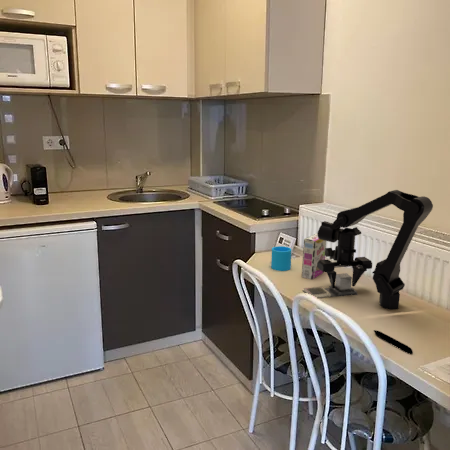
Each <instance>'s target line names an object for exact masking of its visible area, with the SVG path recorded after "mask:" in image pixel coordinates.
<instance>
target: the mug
mask: <svg viewBox="0 0 450 450" xmlns="http://www.w3.org/2000/svg"><path fill="white" fill-rule="evenodd" d="M270 262H271V263H270V264H271V267H270V268H271V269H272V270H273V271H276V272H277V271H278V272H279V271H280V272H286V271H290V270H291V267H292V248H291V247H289V246H284V245H283V246H282V245H279V246H273V247H271V261H270Z"/></svg>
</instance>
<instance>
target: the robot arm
mask: <svg viewBox="0 0 450 450" xmlns="http://www.w3.org/2000/svg"><path fill="white" fill-rule="evenodd" d="M391 205H393V206H394V207H396V208H397V209H398V210H400V211H402V212H403V215H402V216H403V219H402V220H403V222H402V224H401V226H400V229H399V230H398V233H397V236H396V237H395V240H394V242H393V243H392V246H391V248H390V250H389V252H388V254H387V257H386V258H385V259H382V260H381V261H379V262H377V263H376V265H375V268H374V270H373V271H372V274H373V276H372V280H373V282H374V284H375V288H376V292H377V293H379V302H378V303H379V306H380V307H381V308H383V309H387V310H388V311H394V310H399V307H400V297H401V294H400V291H402V290H403V289H404V287H405V285H406V283H405V282H404V281H403V280H402V278H401V277H400V273H401V262H402V261H403V258H404V256H405V255H406V252H407V251H408V248H409V246H410V244H411V242H412V240H413V238H414V235H415V234H416V231H417V230H418V228H419V226H420V225H421V224H422V223H423V222H424V221H425V220H426V218H427V217H428V216H429V215H430V213H431V212H432V211H433V208H434V204H433V202H432V200H431V199H430V198H429V197H427V196H424V195H423V196H418V195H415V194H411V193H408V192H407V193H406V192H404V191H400V190H398V189H394V190H391V191H388V192H386V193H385V194H383V195H381V196H379V197H377V198H374V199H373V200H371V201H368V202H366V203H365V204H364V203H363V204H362V205H360V206H357V207H353V208H350V209H349V208H348V209H346V210H342V211H339V212H338V213H337V214H336V215H337V216H336V219H335V220H334V221H332V222H329V221H322V222H321V225H320V226H319V228H318V230H317V232H316V234H317V235H318V238H319V239H320V240H325V241H326V242H329V243H336V242H337V245H336V246H335V248H334V249H333V248H332V247H326V248H325V258H326V257H329V258H328V259H325V260H319V261H318V263H317V268H319V269H320V270H321V271H323V272H324V273H326V274H327V276H328V279H329V283H330V286H332V288H334V287H335V284H336V274H337V271H335V268H347V267H352V276H351V277H352V280H351V287H352V288H353V287H356V284H357V283H358V282H359V280H360V278H361V277H362V276H363V275H364V273H365V272H367V271H368V270H370V269H372V268H373V262H372V260H370V259H369V258H367V257H366V256H358V257H355V256H354V255H355V253H357V249H355V246H356V245H355V242H356V236H360V235H361V234H362V231H361V230H359V228H358V226H356V225H358V224H359V223H361V221H363V220H364V219H365V218H366V217H368V216H369V215H372V214H374V213H376V212H378V211H380V210H382V209H385V208H387V207H389V206H391ZM353 226H355V227H353ZM350 227H353V228H350ZM331 260H333V261H331Z"/></svg>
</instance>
